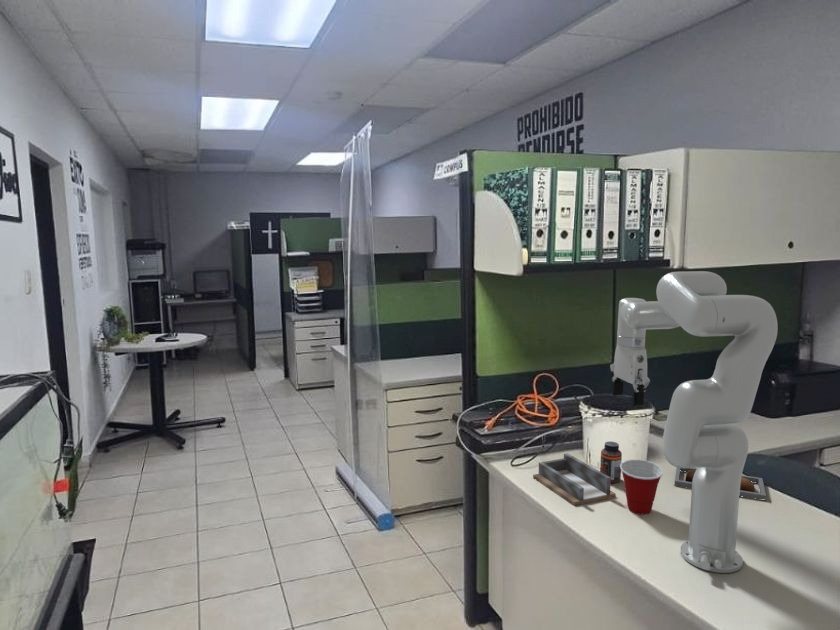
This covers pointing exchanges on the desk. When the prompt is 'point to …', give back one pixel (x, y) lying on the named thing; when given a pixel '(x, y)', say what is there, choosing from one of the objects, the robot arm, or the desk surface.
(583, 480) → the board
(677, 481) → the desk tray frame
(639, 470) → the plastic cup
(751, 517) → the desk surface
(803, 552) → the desk surface
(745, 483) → the sunglasses case
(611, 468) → the supplement bottle
